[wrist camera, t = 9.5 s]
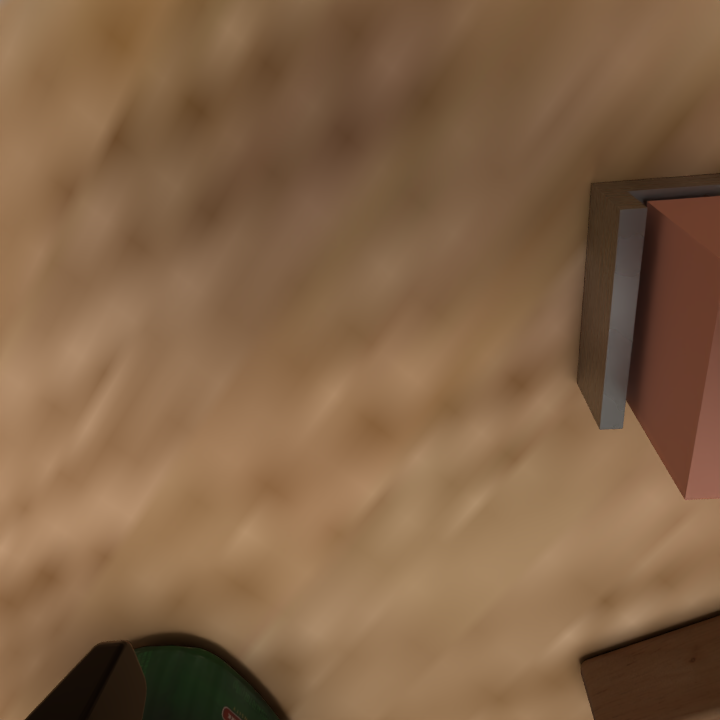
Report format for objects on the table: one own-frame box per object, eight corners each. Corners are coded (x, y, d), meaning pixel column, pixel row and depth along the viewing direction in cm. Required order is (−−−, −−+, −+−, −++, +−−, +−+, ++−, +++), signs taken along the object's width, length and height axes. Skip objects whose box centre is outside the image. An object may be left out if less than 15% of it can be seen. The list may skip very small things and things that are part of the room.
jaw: (732, 194, 16) (839, 256, 12) (698, 394, 19) (777, 495, 15) (647, 201, 17) (726, 263, 13) (624, 397, 19) (684, 499, 15)
